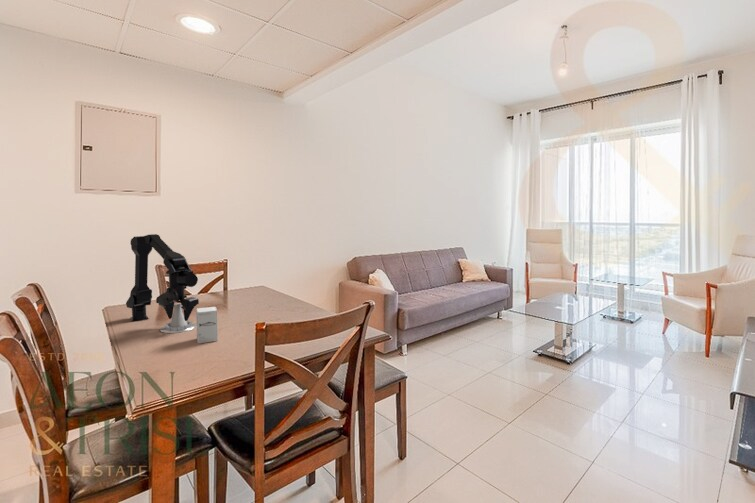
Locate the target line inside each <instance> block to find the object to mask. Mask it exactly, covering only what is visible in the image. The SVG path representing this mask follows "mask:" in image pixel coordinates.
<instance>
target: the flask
mask: <svg viewBox="0 0 755 503" xmlns="http://www.w3.org/2000/svg"><path fill="white" fill-rule="evenodd" d="M173 306H174V308H173V315H172V318H171V319H170V322H171V323H170V325H169V327H179V326H185V325H188V324H187V322H186V321H185V319H184V312H183V309H182V308H181V307H182V305H181V303H176V304H174V305H173Z"/></svg>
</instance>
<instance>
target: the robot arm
mask: <svg viewBox="0 0 755 503" xmlns="http://www.w3.org/2000/svg"><path fill="white" fill-rule="evenodd" d="M130 247H131V250H132V252H133V253H134V255H135V261H134V262H135V263H134V264H135V266H134V268H135V270H134V285H133V287H132V289H131V290H130V295H129V297H128V298H127V300H126V302H125V305H126V308H128V309H131V317H130V320H131V322H135V321H143V320H144V321H145V320H148V319H149V317H148V316H147V306H150V305H151V303H152V299H153V289H150V286H148V276H149V275H148V273H149V272H148V268H149V267H148V266H149V255H150V253H151V252H152V251H153V249H154V251H155V252H156V253H157V254H158V255H159V256H160V257H161V258H162V259H163V264H164V266H165V268H166V269H167V271H165V274H167V275H168V285H169V287H167V288H166V291H165V292H163V293H161V294H160V295H158V296H157V297H156V299H155V300H156V304H158V305H159V306H161V307H163V309H164V311H165V313H166V315H167V317H168V319H170V320H172V317H173V314H174V306H173V305H175V303H176V304H181V305H182V306H181V309H182V311H183V315H184V319H185V321H189V318H190V316H191V313H193V312H192V311H193V310H194V308H195V307H196V306H197V305H199V304H200V303H199V298H197V297H193V296H190V297H188V296H187V294H185V290H186V289H187V287H190V288H192V287H195V286H196V285H197V283H198V280H199V279H198V277H197V276H198V275H196V274H195V273H194V271H193V270H192V269H191V266H190V265H189V263H188V261H187V259H186V258H185V256H184V255H182V254H181V253H179V252H176V251H174V250H173V249H172V248H171V247H170V245H169V246H168V244H167V243H166V242H164V240H162V238H161V236H160V235H159V234H156V233H155V234H154V233H151V234H146V235H141V236H133V237H132V238H131V239H130Z"/></svg>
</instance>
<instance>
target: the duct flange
mask: <svg viewBox="0 0 755 503" xmlns="http://www.w3.org/2000/svg"><path fill="white" fill-rule="evenodd" d="M186 322H187V324H188V325H185V326H179V327H169V325H170V323H171V321H170V322H167V323H165V324H163V326H162V327H161V328H160V329H159V330H160V332H161V333H164V334H179V333H185V332H188V331H191V330H193V329H194V330H195V329H197V323H193V322H192V321H191V320H187V321H186Z"/></svg>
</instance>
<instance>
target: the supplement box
mask: <svg viewBox="0 0 755 503" xmlns="http://www.w3.org/2000/svg"><path fill="white" fill-rule="evenodd" d="M195 311H196V313H195V314H196V315H195V316H196V319H195V320H196V338H197V340H196V341H197V344H203V343H211V342H219V341H218V340H219V339H218V337H219V334H218V332H219V331H218V310H217V307H216V306H211V307H197V308H196V309H195Z"/></svg>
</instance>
